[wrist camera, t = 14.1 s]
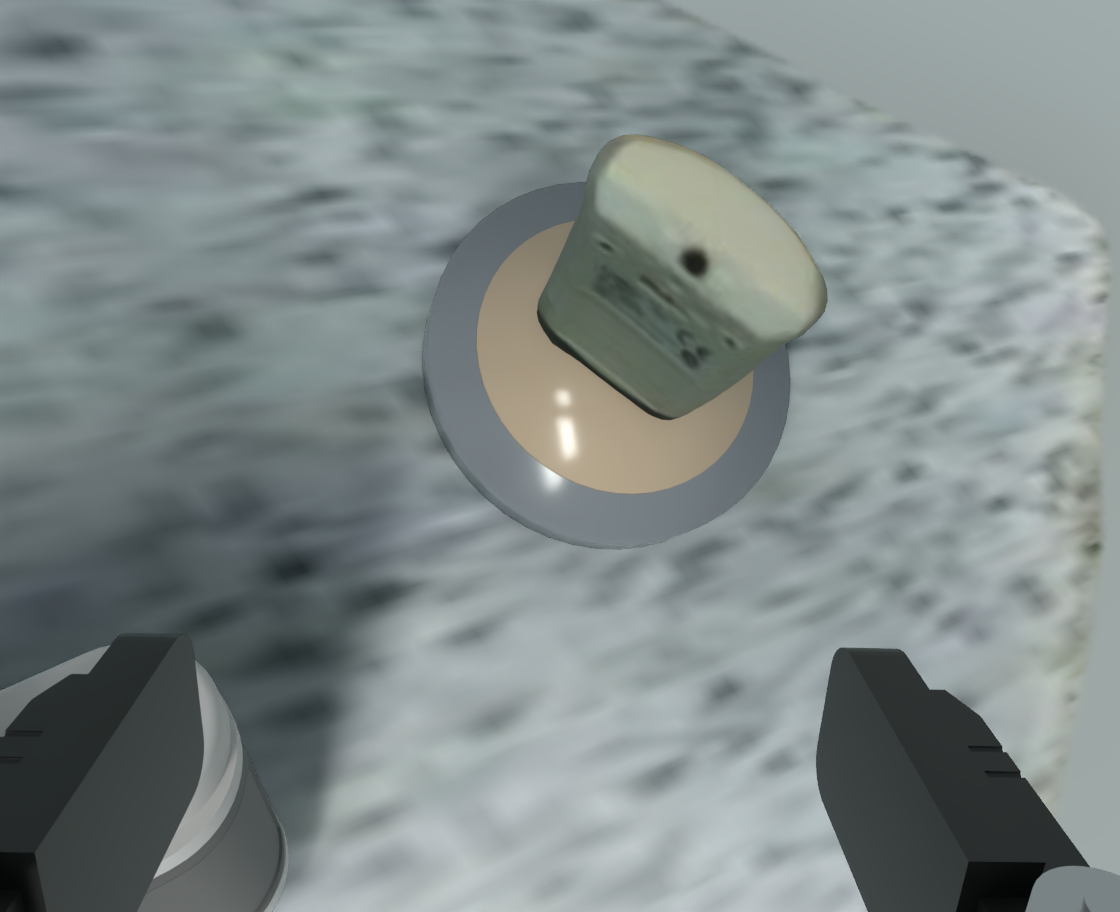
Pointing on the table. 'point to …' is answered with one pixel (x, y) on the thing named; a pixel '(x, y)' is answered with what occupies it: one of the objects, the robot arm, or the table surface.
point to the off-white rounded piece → (676, 278)
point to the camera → (201, 813)
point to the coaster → (575, 402)
